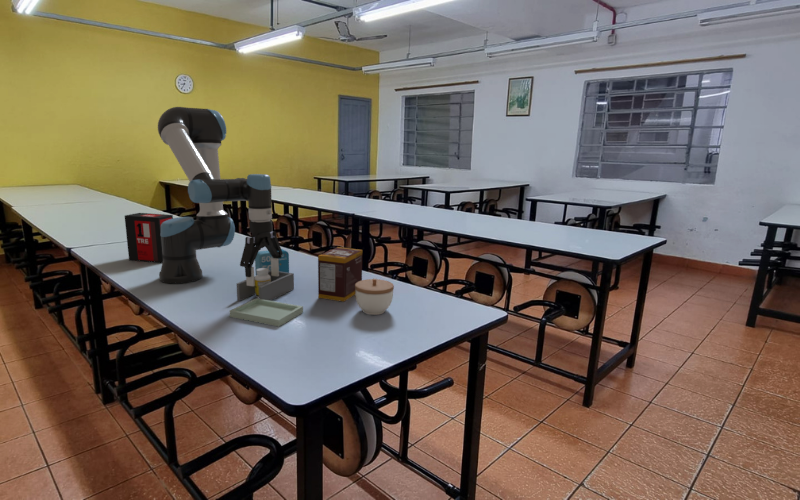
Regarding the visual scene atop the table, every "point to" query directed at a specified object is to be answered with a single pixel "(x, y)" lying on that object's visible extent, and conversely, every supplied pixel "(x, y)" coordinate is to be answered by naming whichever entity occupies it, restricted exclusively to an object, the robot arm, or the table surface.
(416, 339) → the table surface
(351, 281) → the supplement box
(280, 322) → the tray
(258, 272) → the supplement bottle
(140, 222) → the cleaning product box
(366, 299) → the lidded bowl
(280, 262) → the data package
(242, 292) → the bay
